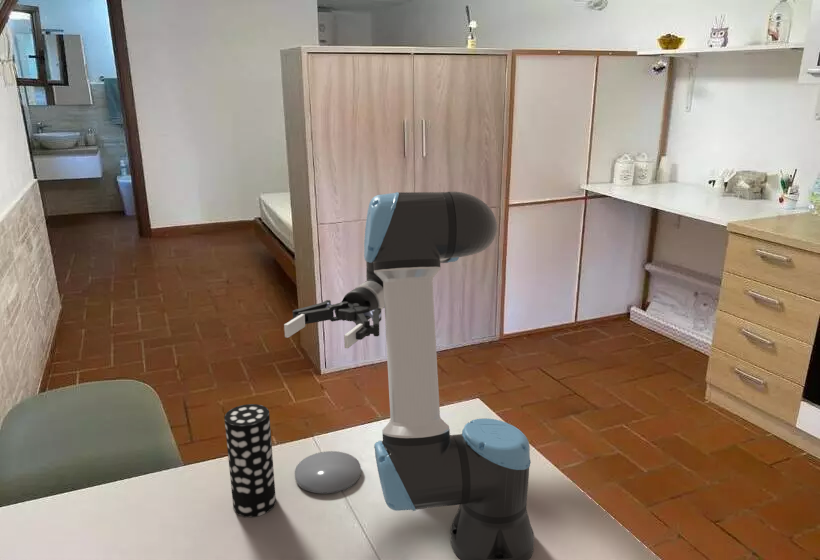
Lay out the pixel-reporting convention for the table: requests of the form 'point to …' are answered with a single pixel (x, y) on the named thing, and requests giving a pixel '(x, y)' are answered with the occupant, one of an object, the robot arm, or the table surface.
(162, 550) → the table surface
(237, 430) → the white-spotted black cylinder
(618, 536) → the table surface
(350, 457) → the dish
